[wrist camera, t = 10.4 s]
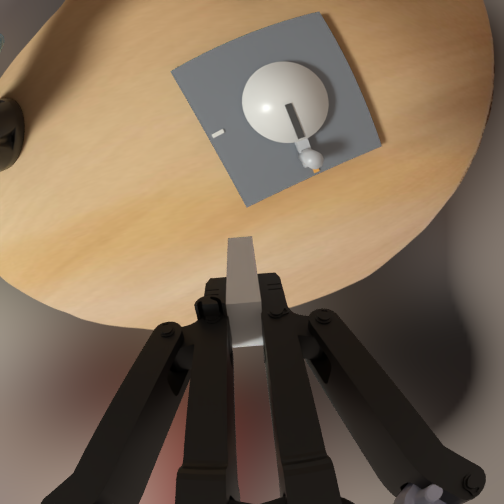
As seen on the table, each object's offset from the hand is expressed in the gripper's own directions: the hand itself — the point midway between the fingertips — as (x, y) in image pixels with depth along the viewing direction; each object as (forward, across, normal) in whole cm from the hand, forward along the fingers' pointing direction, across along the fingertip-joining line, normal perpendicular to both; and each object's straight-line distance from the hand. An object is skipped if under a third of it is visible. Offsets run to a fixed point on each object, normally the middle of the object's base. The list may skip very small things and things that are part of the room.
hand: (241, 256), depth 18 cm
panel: (+26, +7, +11) cm, 29 cm away
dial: (+24, +8, +9) cm, 27 cm away
